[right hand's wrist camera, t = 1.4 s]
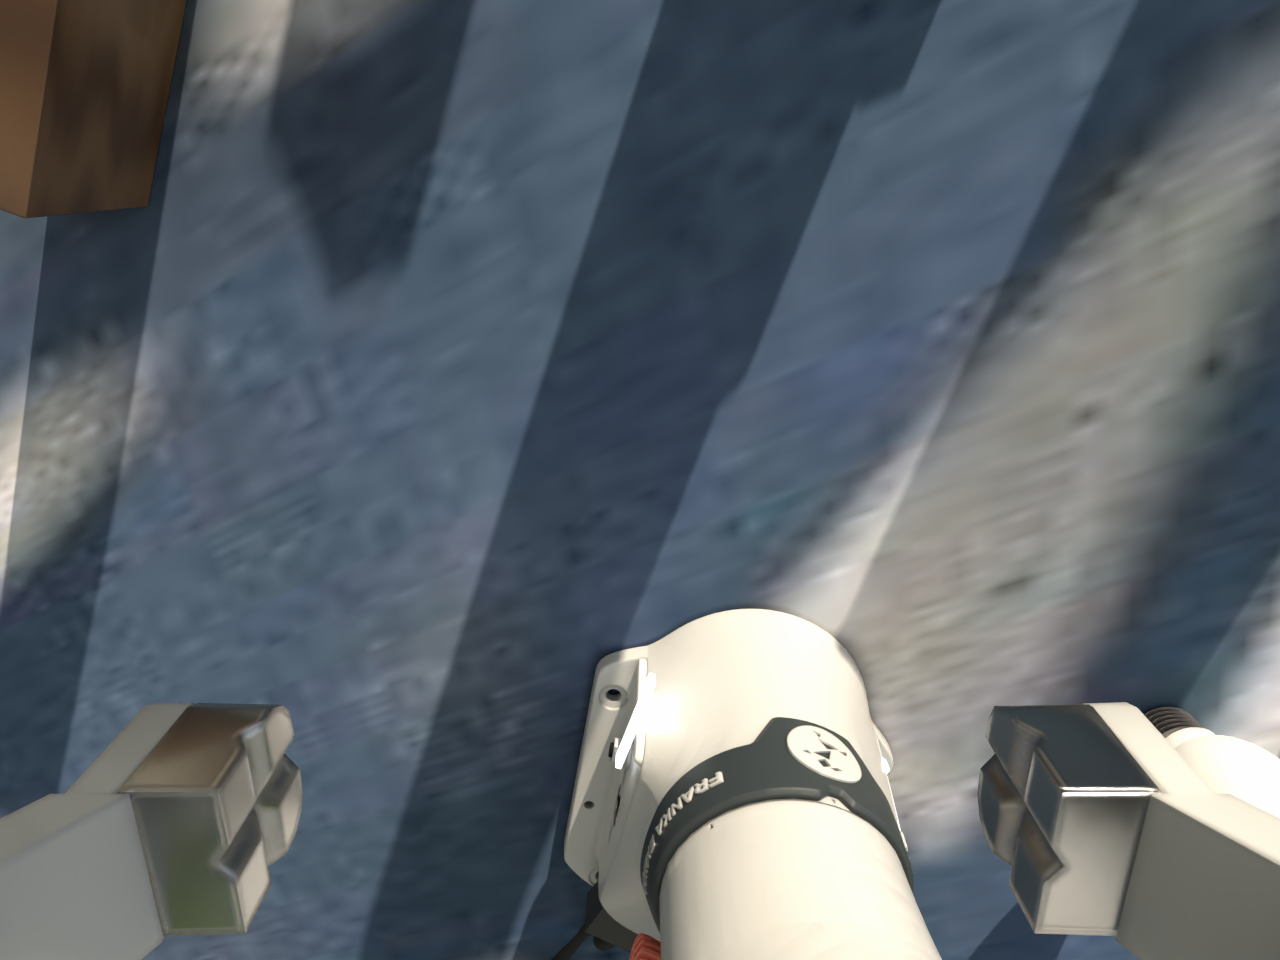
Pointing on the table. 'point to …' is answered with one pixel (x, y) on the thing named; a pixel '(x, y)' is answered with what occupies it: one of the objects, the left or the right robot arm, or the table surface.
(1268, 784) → the light bulb
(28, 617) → the table surface
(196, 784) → the right robot arm
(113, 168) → the bar
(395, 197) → the table surface
